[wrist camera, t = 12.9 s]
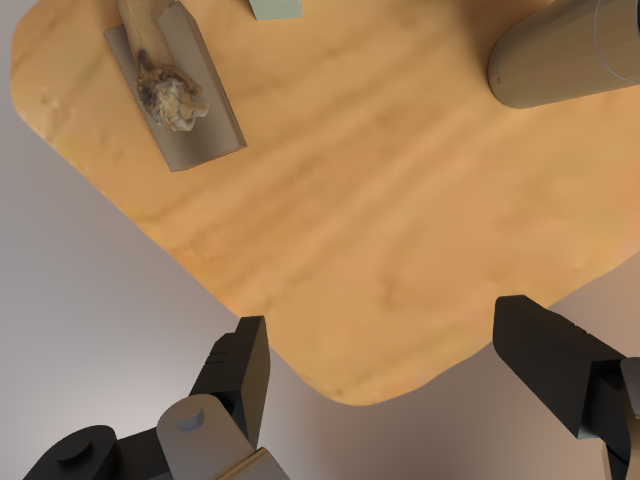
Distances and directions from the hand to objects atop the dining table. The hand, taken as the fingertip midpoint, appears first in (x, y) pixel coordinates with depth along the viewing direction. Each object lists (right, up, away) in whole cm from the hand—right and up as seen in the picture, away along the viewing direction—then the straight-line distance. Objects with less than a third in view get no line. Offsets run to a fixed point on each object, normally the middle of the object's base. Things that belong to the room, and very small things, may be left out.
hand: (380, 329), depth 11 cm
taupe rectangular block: (-17, +19, +26) cm, 37 cm away
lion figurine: (-16, +20, +21) cm, 33 cm away
